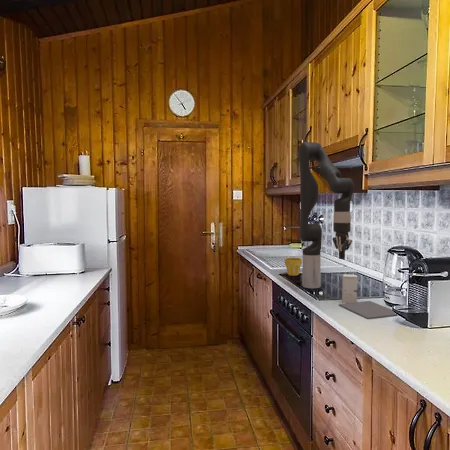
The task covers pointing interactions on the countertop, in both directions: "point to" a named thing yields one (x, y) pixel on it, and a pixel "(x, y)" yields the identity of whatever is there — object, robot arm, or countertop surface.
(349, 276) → the skincare box
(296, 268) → the plant pot
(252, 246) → the countertop surface
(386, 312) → the mat
